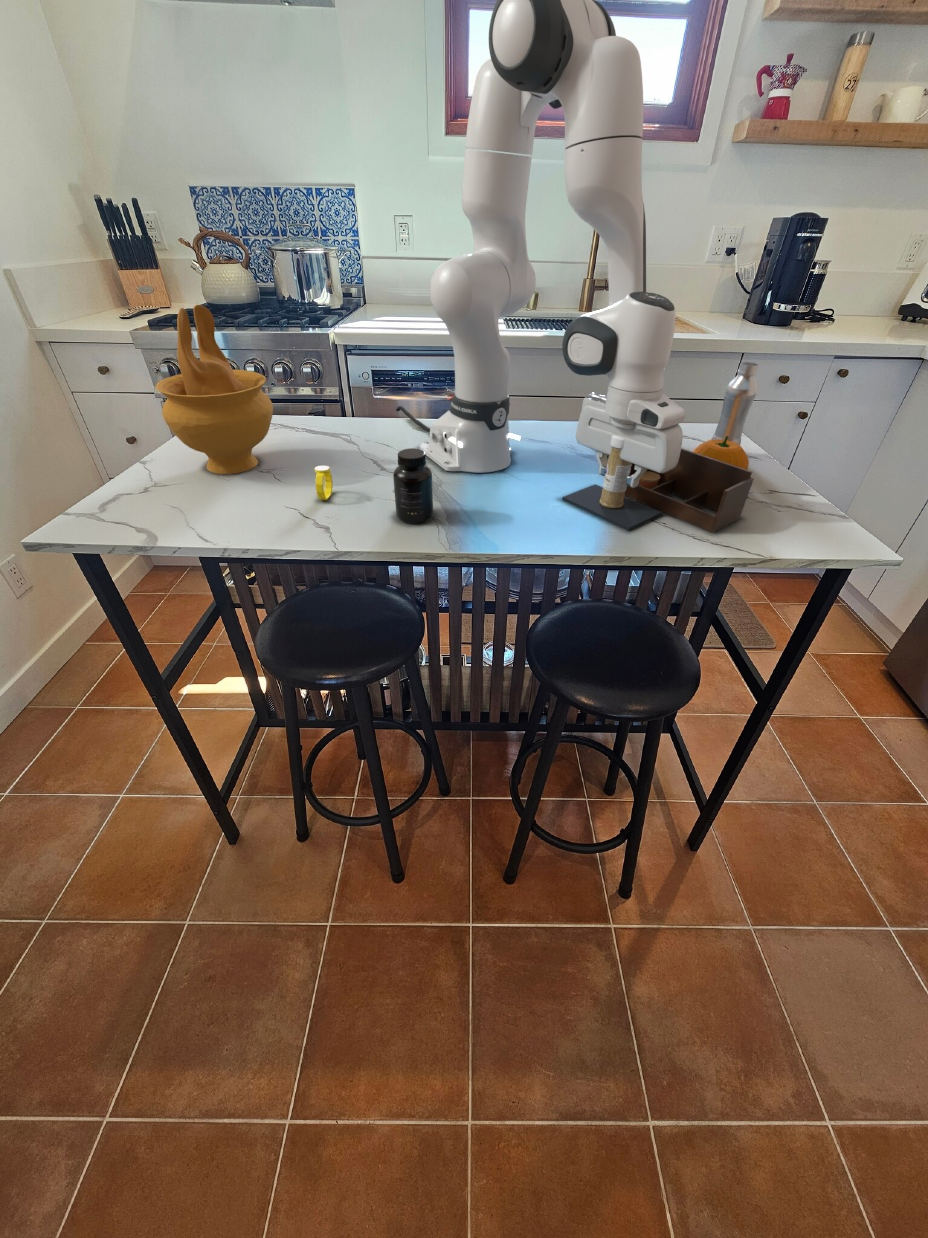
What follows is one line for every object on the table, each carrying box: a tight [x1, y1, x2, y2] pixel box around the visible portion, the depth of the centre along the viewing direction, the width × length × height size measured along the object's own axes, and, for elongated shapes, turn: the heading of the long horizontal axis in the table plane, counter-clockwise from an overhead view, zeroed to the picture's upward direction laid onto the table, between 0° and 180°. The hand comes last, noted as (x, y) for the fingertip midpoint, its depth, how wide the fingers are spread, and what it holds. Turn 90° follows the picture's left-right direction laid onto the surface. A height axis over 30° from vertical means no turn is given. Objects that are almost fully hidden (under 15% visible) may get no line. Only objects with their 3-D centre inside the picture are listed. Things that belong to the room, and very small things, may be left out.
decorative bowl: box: [155, 304, 274, 475], centre depth 110 cm, size 21×21×30 cm
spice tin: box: [638, 471, 660, 489], centre depth 110 cm, size 5×5×4 cm
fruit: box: [692, 436, 750, 470], centre depth 112 cm, size 12×12×10 cm
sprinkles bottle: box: [600, 436, 632, 508], centre depth 101 cm, size 5×5×13 cm
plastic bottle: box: [710, 361, 760, 446], centre depth 121 cm, size 6×7×20 cm
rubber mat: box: [561, 483, 663, 532], centre depth 105 cm, size 16×10×1 cm, turn 40°
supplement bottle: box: [392, 447, 434, 525], centre depth 97 cm, size 7×7×12 cm
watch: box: [314, 465, 333, 501], centre depth 105 cm, size 6×3×6 cm, turn 175°
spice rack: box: [624, 447, 755, 534], centre depth 104 cm, size 22×9×9 cm, turn 40°
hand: (617, 480), depth 102 cm, fingers open, 5 cm apart
